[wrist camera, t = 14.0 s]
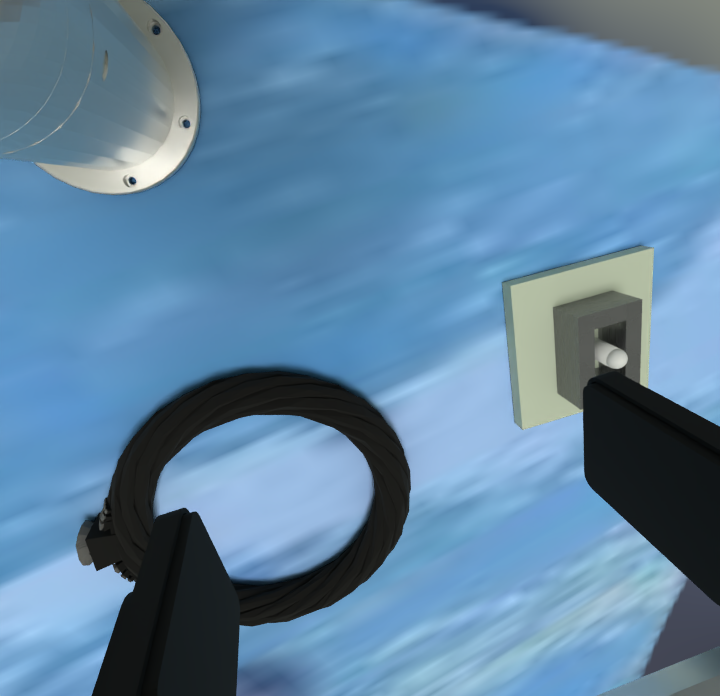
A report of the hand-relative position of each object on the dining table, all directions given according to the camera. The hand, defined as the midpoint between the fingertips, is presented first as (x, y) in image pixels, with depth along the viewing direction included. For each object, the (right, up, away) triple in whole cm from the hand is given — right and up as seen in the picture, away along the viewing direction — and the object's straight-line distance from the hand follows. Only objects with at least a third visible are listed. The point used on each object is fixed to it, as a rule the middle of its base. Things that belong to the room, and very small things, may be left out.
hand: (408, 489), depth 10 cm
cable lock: (-11, -11, +33) cm, 36 cm away
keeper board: (+20, +4, +33) cm, 39 cm away
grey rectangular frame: (+20, +4, +31) cm, 37 cm away
